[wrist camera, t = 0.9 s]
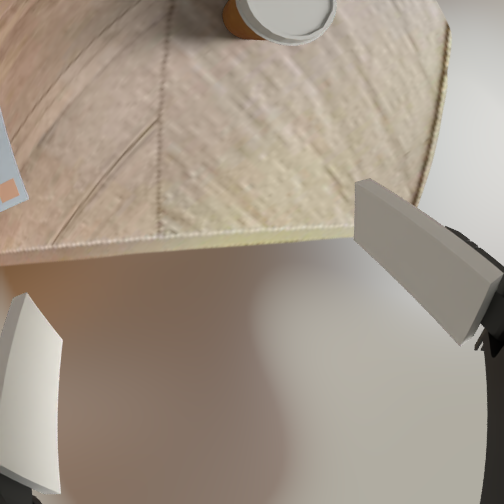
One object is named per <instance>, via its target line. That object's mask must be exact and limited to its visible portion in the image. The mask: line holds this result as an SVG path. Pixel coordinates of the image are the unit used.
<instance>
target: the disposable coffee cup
mask: <svg viewBox="0 0 504 504" xmlns="http://www.w3.org/2000/svg"><path fill="white" fill-rule="evenodd" d="M336 8H337V2H336V0H229V1H228V2H227V4H226V5H225V7H224V9H223V15H222V16H223V22H224V24H225V26H226V28H227V29H228V30H229V31H230V32H231V33H232V34H233V35H235V36H237V37H239V38H242V39H252V40H268V41H270V42H273V43H276V44H280V45H286V46H298V45H303V44H307V43H309V42H312V41H314V40H316V39H317V38H318V37H320V36H321V35H322V34H323V33H324V32H325V31H326V30H327V29H328V27H329V26H330V25H331V23H332V22H333V19H334V17H335V14H336Z"/></svg>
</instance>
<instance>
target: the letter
mask: <svg viewBox="0 0 504 504" xmlns="http://www.w3.org/2000/svg"><path fill="white" fill-rule="evenodd" d="M28 199H29V196H28V194H27V191H26V189H25V186H24V183H23V181H22V178H21V175H20V172H19V169H18V167H17V164H16V161H15V158H14V154H13V151H12V148H11V145H10V141H9V138H8V135H7V131H6V127H5V124H4V120H3V116H2V112H1V108H0V212H2V211H4V210H6V209H8V208H10V207H12V206H15V205H17V204H19V203H21V202H24V201H26V200H28Z"/></svg>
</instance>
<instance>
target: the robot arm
mask: <svg viewBox="0 0 504 504" xmlns="http://www.w3.org/2000/svg"><path fill="white" fill-rule="evenodd" d="M354 241H355V242H357V244H359V245H360V246H361V247H362V248H363V249H364V250H365V251H366V252H367V253H368V254H369V255H371V257H373V258H374V259H375V260H376V261H377V262H378V263H379V264H380V265H381V266H382V267H383V268H384V269H385V270H386V271H387V272H388V273H390V275H391V276H392V277H393V278H394V279H396V280H397V281H398V282H399V283H400V284H401V285H402V286H403V287H404V288H405V289H406V290H407V291H408V292H409V293H410V294H411V295H412V296H413V297H414V298H415V299H416V300H417V301H418V302H419V303H420V304H421V306H422V307H423V308H424V309H425V310H426V311H427V312H428V313H429V314H430V315H431V316H432V317H433V318H434V319H435V320H436V321H437V322H438V323H439V324H440V325H441V326H442V327H443V329H444V330H445V331H446V332H447V333H448V334H449V335H450V336H451V337H452V338H453V339H454V340H455V342H456V343H457V344H458V345H459V346H461V345H463V344H464V343H465V342H466V341H468V340H469V339H470V338H471V337H473V336H474V334H475V332H476V330H477V329H478V327H479V325H480V323H481V324H482V325H483V327H485V328H484V330H483V332H482V334H481V335H480V337H479V339H478V341H477V342H476V344H475V349H474V350H478V348H479V346H480V345H481V343H482V341H483V346H482V348H481V351H484V355H485V366H486V380H487V402H488V403H487V408H488V419H487V422H488V423H487V427H488V428H487V448H486V462H485V472H484V480H483V488H482V494H481V501H480V504H504V266H502V265H501V264H500V263H499V262H498V261H496V260H495V259H494V258H493V257H491V256H490V255H489V254H488V253H486V252H485V251H484V250H483V249H481V248H478V246H477V245H476V244H475V243H474V242H470V240H469V239H468V238H467V237H466V236H464V235H463V234H461V233H460V232H458V231H456V230H454V229H451V228H449V227H447V226H445V227H444V226H443V225H441V224H440V223H438V222H437V221H436V220H434V219H433V218H431V217H430V216H428V215H427V214H425V213H424V212H422V211H421V210H419V209H418V208H417V207H415V206H414V205H412V204H410V203H409V202H407V201H406V200H404V199H403V198H401V197H400V196H398V195H397V194H395V193H393V192H392V191H390V190H389V189H387V188H385V187H384V186H382V185H380V184H379V183H377V182H376V181H374V180H372V179H371V178H369V179H365V180H362V181H358V182H355V219H354ZM62 343H63V340H62V339H61V338H60V336H59V335H58V334H57V333H56V331H55V330H54V329H53V328H52V326H51V325H50V324H49V322H48V321H47V320H46V318H45V317H44V316H43V314H42V313H41V312H40V310H39V309H38V307H37V306H36V305H35V303H34V302H33V300H32V299H31V298H30V296H29V295H28V293H27V292H26V293H24V294H21V295H19V296H17V297H14V298H13V300H12V302H11V305H10V308H9V311H8V314H7V317H6V321H5V324H4V327H3V330H2V334H1V337H0V504H42V503H41V502H40V501H39V500H38V499H37V498H36V497H35V496H33V495H32V489H34V490H36V491H38V492H41V493H43V494H61V488H60V479H59V464H58V439H57V438H58V437H57V413H58V388H59V373H60V361H61V351H62Z"/></svg>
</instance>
